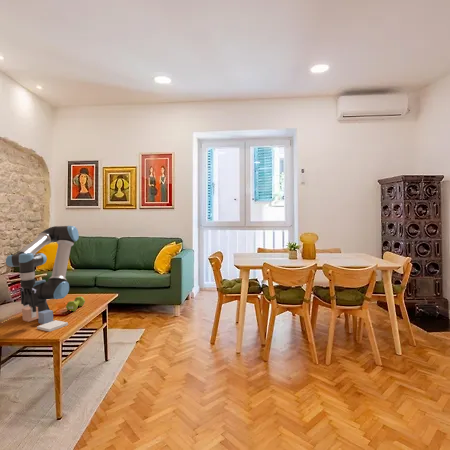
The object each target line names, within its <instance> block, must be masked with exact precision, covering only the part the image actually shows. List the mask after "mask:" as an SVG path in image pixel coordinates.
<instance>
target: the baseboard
mask: <svg viewBox="0 0 450 450" xmlns="http://www.w3.org/2000/svg"><path fill="white" fill-rule="evenodd" d="M66 326H69V322H67V321H62V320H58V319H57V320H56V319H55V320H53V321H52V322H49V323H46V324H40V325H38V326H36V329H37V330H41V331H45V332H50V333H51V332H54V331H56V330H58V329H61V328H64V327H66Z"/></svg>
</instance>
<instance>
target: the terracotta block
mask: <svg viewBox="0 0 450 450" xmlns="http://www.w3.org/2000/svg"><path fill="white" fill-rule="evenodd" d="M21 312H22V315H21V316H22V321H25V322H29V323H30V322H32V321H35V320H38V318H39V316H38V307H36V315H37V317H34V318H31V306H30V307H27V308H24V307H23V308H22V309H21Z"/></svg>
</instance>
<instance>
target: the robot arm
mask: <svg viewBox="0 0 450 450" xmlns="http://www.w3.org/2000/svg"><path fill="white" fill-rule="evenodd" d="M79 236H80V234H79V231H78V228H77V227H76V226H75V225H60V226H59V225H56V226H55V225H54V226H49V227H48V228H46V229H44V230H42V231H40V233H38V235H37V237H35V238H34V239H33V240H32V241H30V243H28V244H27V245H26V246H24V247H22V249H21V250H19V251H18V252H16V253H15V254H10V255H9V254H8V255H7V256H6V259H5V264H6V266H8V267H11V268H13V267H17V268H18V267H19V279H20V288H19V290H20V304H21V305H22V306H23V308H27V307H30V306H31V318H34V317H37V315H36V307H38V312H41V311H44V310H51V309H50V307H49V305H48V302H47V300H62V299H64V298H65V297H67V295H68V293H69V291H70V284H69V282H68V280H67V278H66V276H67V271H68V265H69V259H70V255H71V248H72V247H73V246H74V244H75V242H77V241H78V240H79ZM52 243H56V244H57V249H56V254H55V258H54V264H53V268H52V272H51V276H50V277H49V278H48V280H47V281H46V279H40V280H36V274H35V268H36V267H40V266H42V265H44V264H46V263H47V260H48V258H47V255H46V254H45V253H43V252H40V253H38V252H39V251H40V250H41V249H43V248H44V247H45V246H46V245H49V244H52Z"/></svg>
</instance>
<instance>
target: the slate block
mask: <svg viewBox="0 0 450 450" xmlns="http://www.w3.org/2000/svg"><path fill="white" fill-rule="evenodd" d="M38 316H39V318H38V319H37V320H38V322H37V323H38V324H40V325H43V324H46V323H49V322H52V321H54V310H52V309H50V310H44V311H41V312H38Z"/></svg>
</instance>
